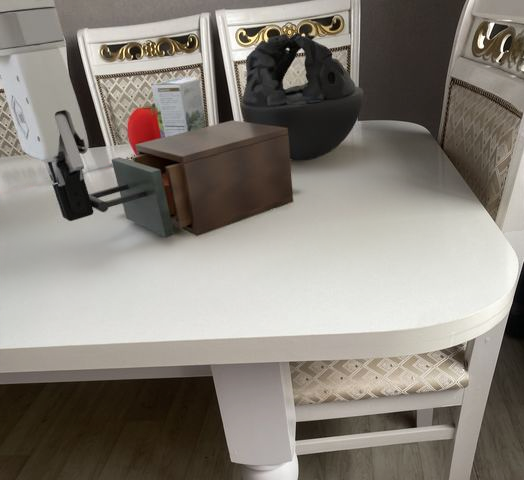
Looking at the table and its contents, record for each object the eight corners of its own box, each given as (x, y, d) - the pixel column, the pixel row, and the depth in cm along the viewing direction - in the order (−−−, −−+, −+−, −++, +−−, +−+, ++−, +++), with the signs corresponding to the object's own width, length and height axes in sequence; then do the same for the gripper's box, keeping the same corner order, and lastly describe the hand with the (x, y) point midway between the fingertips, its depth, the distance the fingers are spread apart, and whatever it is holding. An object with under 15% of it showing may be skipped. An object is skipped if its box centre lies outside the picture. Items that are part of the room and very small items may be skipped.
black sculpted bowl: (271, 145, 102) (260, 33, 92) (374, 143, 95) (375, 21, 85) (229, 176, 87) (210, 45, 77) (347, 175, 80) (344, 31, 69)
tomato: (120, 168, 100) (106, 109, 95) (161, 152, 108) (150, 98, 102) (166, 171, 94) (154, 109, 88) (206, 155, 102) (197, 96, 96)
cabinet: (197, 236, 65) (182, 156, 60) (151, 215, 74) (134, 144, 69) (293, 201, 72) (287, 127, 67) (241, 186, 81) (232, 120, 76)
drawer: (119, 254, 60) (100, 186, 56) (83, 231, 68) (64, 171, 64) (261, 204, 70) (254, 143, 65) (215, 190, 78) (206, 134, 73)
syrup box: (185, 166, 95) (169, 78, 87) (213, 167, 93) (199, 76, 85) (168, 176, 91) (149, 83, 83) (196, 176, 89) (179, 81, 81)
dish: (167, 220, 65) (160, 188, 63) (143, 210, 70) (136, 180, 67) (212, 206, 68) (206, 174, 66) (186, 197, 73) (181, 167, 70)
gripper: (-33, 42, 55) (29, 212, 65) (2, 37, 44) (69, 241, 54) (38, 33, 58) (86, 196, 68) (86, 26, 48) (135, 220, 58)
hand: (78, 216), depth 61 cm, fingers closed
